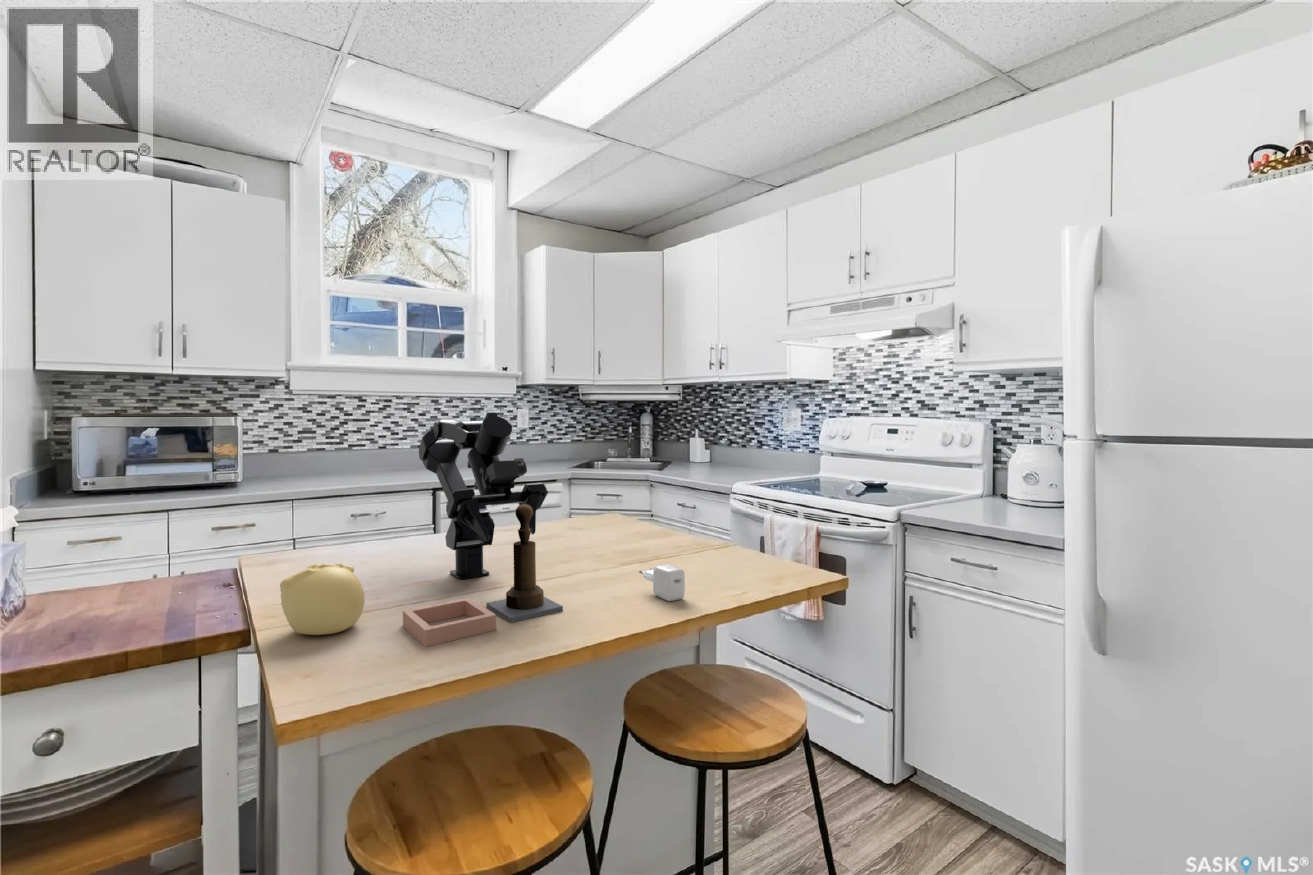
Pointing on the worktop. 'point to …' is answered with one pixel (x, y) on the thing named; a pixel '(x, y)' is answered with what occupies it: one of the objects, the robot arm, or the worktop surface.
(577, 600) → the worktop surface
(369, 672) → the worktop surface
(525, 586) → the mortar and pestle
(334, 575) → the pale yellow round lump
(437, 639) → the tray
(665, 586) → the power adapter
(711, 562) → the worktop surface
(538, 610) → the mat
